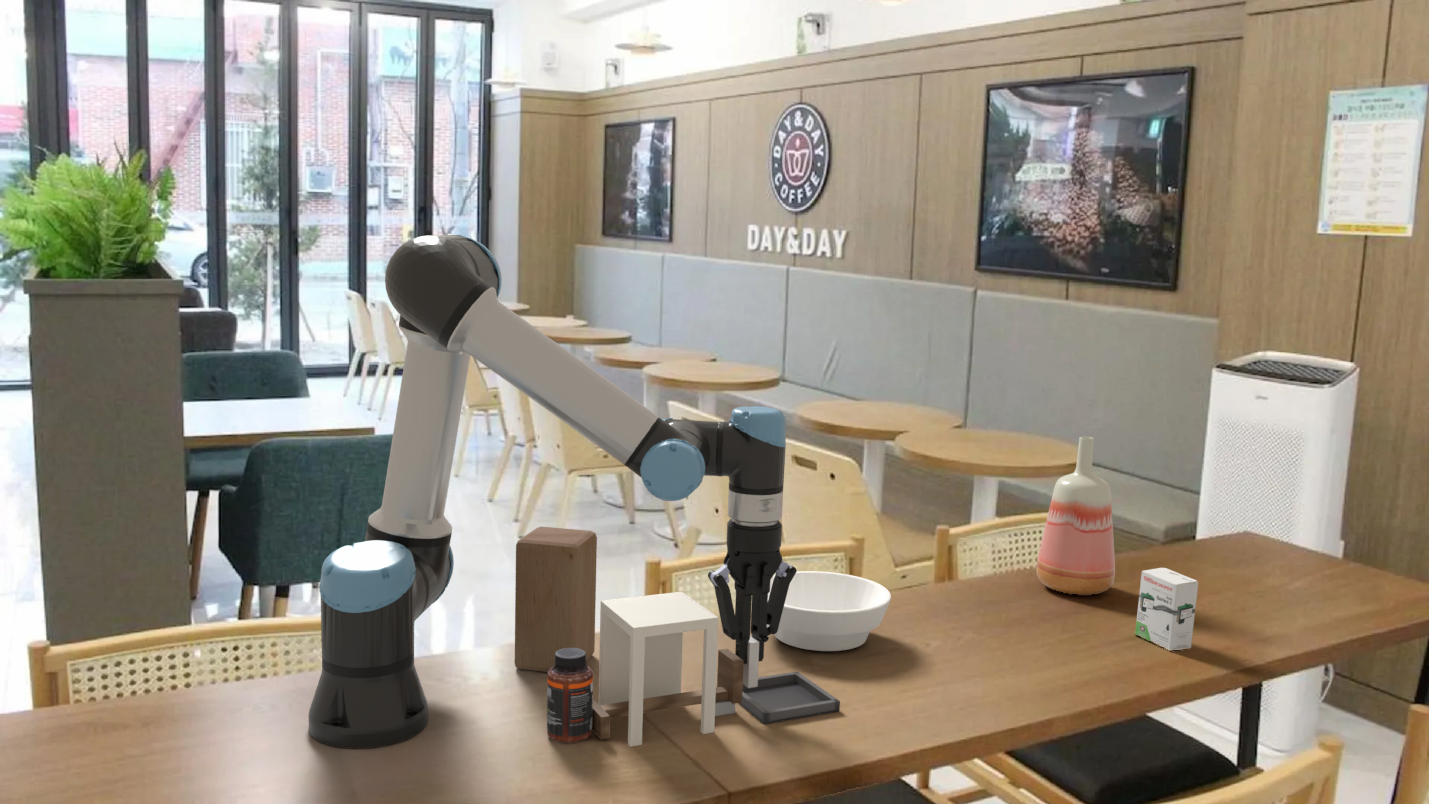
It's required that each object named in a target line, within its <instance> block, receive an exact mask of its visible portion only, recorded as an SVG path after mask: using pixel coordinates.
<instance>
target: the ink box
mask: <svg viewBox="0 0 1429 804" xmlns="http://www.w3.org/2000/svg"><path fill="white" fill-rule="evenodd" d="M1139 584H1140V585H1139V596H1138V604H1137V612H1136V613H1137V614H1136V623H1135V631H1134V635H1135V634H1136V635H1139V636H1141V637H1143V638H1145V639H1147V640H1149V641H1153V642H1154V643H1156V644H1159V645H1160V646H1162V647H1165V648H1166V649H1168V650H1181V649H1185V648H1186V649H1187V648H1191V649H1192V642H1193V633H1194V624H1195V615H1196V608H1197V607H1196V606H1197V601H1198V600H1197V599H1198V589H1199V582H1198V580H1197V579H1194V578H1192V577H1189V576H1186V575H1184V574H1182V573H1179V572H1177V571H1174V570H1172V569H1169V568H1166V567H1158V568H1151V569H1145V570H1142V571H1141V575H1140V583H1139ZM1181 651H1182V650H1181Z"/></svg>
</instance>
